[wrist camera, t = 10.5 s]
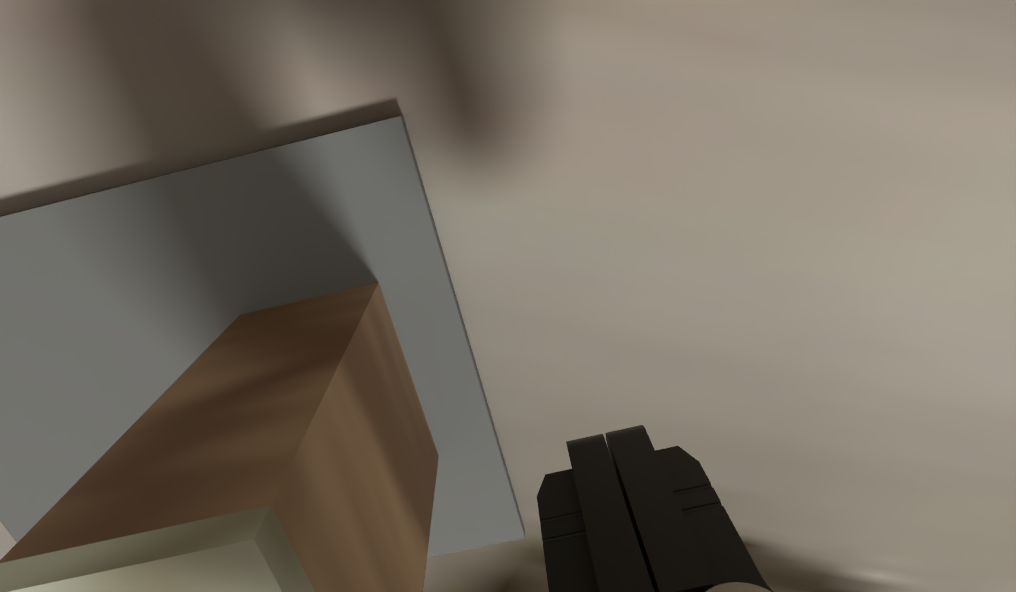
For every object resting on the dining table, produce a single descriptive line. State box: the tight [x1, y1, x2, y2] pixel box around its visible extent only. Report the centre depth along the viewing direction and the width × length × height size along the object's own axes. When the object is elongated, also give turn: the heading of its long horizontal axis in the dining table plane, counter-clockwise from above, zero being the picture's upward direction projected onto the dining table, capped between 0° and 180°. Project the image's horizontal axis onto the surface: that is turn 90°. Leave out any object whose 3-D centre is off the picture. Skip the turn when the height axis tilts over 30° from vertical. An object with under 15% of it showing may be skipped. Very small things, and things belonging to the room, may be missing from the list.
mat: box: [0, 115, 525, 558], centre depth 17 cm, size 16×14×1 cm
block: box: [0, 282, 439, 592], centre depth 12 cm, size 4×6×9 cm, turn 13°
